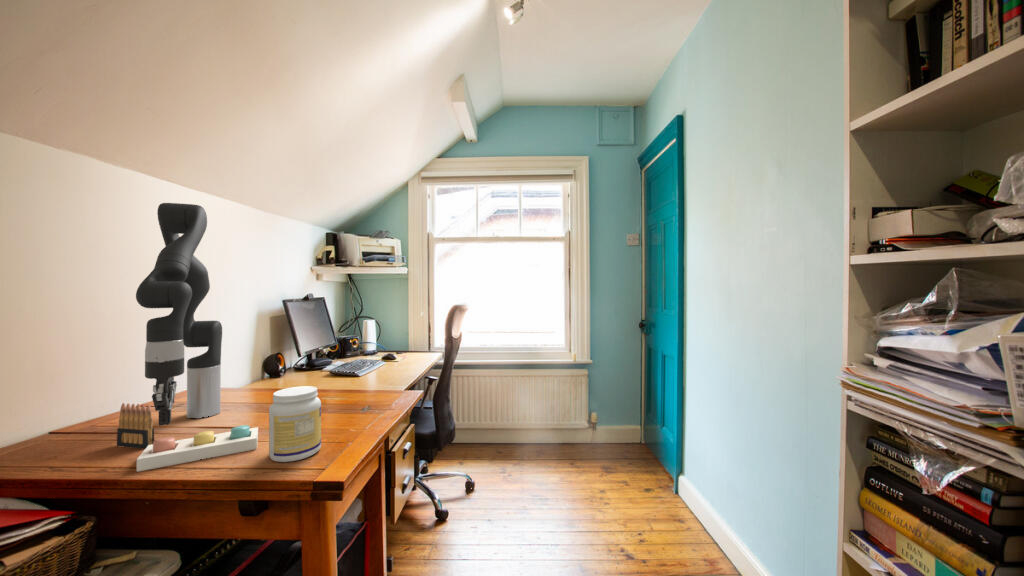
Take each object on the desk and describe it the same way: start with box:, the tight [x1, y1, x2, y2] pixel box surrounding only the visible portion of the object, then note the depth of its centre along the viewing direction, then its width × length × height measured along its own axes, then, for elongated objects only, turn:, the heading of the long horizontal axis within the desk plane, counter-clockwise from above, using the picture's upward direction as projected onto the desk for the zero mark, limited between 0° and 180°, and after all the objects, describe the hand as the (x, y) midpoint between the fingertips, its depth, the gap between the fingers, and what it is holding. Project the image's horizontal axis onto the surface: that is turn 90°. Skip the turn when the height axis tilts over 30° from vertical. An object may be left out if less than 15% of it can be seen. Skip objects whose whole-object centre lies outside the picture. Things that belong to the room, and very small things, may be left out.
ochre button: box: [193, 430, 215, 446], centre depth 101 cm, size 4×4×4 cm
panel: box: [136, 426, 259, 472], centre depth 101 cm, size 10×24×3 cm, turn 123°
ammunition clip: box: [116, 402, 155, 450], centre depth 105 cm, size 11×2×12 cm, turn 80°
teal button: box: [230, 424, 250, 440], centre depth 105 cm, size 4×4×4 cm
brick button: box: [153, 436, 176, 453], centre depth 96 cm, size 4×4×4 cm
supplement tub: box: [268, 385, 322, 463], centre depth 100 cm, size 12×12×17 cm
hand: (164, 424), depth 97 cm, fingers closed
